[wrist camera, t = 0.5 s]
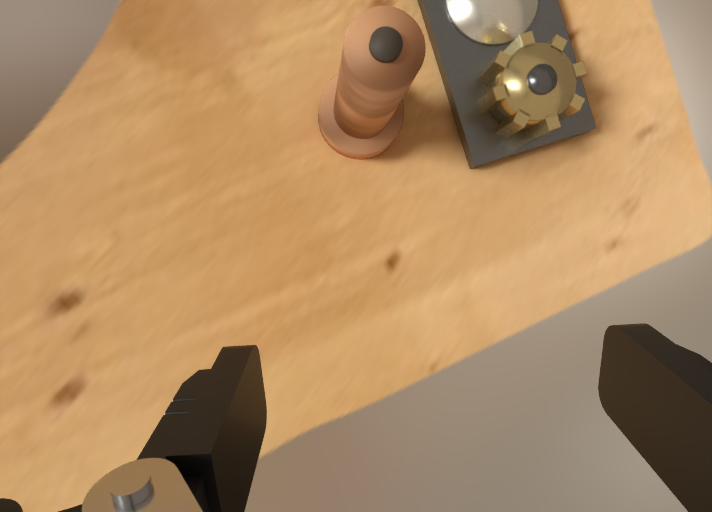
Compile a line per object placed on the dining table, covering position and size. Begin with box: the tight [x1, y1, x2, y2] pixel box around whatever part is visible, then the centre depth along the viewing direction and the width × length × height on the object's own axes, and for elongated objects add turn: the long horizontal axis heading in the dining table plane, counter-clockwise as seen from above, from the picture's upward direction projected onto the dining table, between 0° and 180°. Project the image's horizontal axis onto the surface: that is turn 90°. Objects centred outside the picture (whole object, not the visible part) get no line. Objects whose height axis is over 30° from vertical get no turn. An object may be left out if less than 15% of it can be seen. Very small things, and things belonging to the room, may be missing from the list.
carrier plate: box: [418, 0, 596, 169], centre depth 35 cm, size 16×10×1 cm, turn 18°
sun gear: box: [477, 31, 587, 141], centre depth 33 cm, size 7×7×3 cm
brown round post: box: [318, 6, 425, 159], centre depth 28 cm, size 6×6×12 cm
